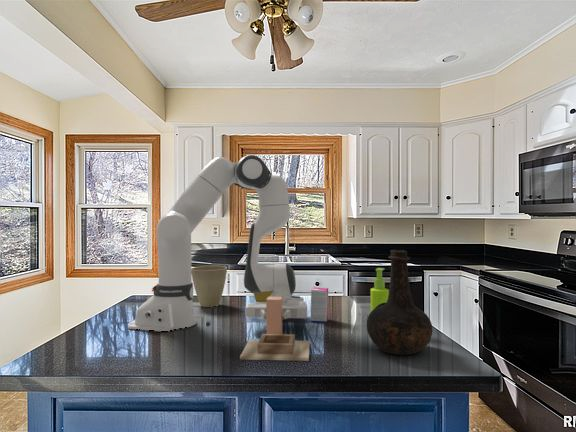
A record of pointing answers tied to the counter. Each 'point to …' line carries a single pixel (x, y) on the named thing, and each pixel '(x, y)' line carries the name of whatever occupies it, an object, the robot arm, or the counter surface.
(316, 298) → the supplement box
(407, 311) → the glass bottle
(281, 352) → the housing
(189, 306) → the robot arm
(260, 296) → the flower pot
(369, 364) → the counter surface
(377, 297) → the soap dispenser
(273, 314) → the block
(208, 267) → the plant pot
